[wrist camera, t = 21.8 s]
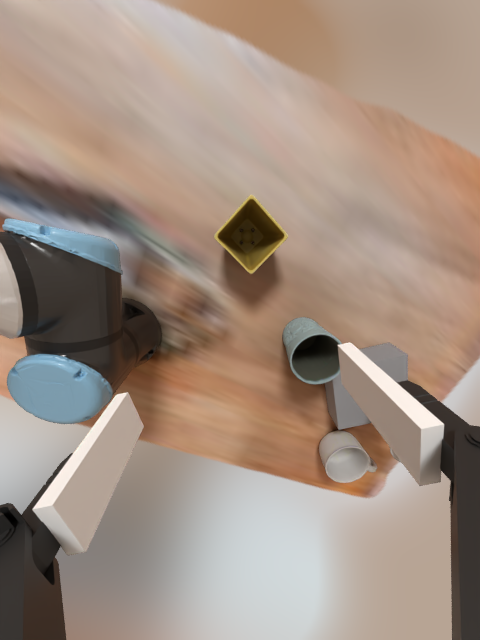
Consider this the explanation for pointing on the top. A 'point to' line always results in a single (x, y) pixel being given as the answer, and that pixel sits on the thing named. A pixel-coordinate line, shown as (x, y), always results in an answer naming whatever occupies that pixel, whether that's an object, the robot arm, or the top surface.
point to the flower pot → (251, 235)
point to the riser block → (342, 402)
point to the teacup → (344, 457)
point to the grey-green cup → (311, 351)
